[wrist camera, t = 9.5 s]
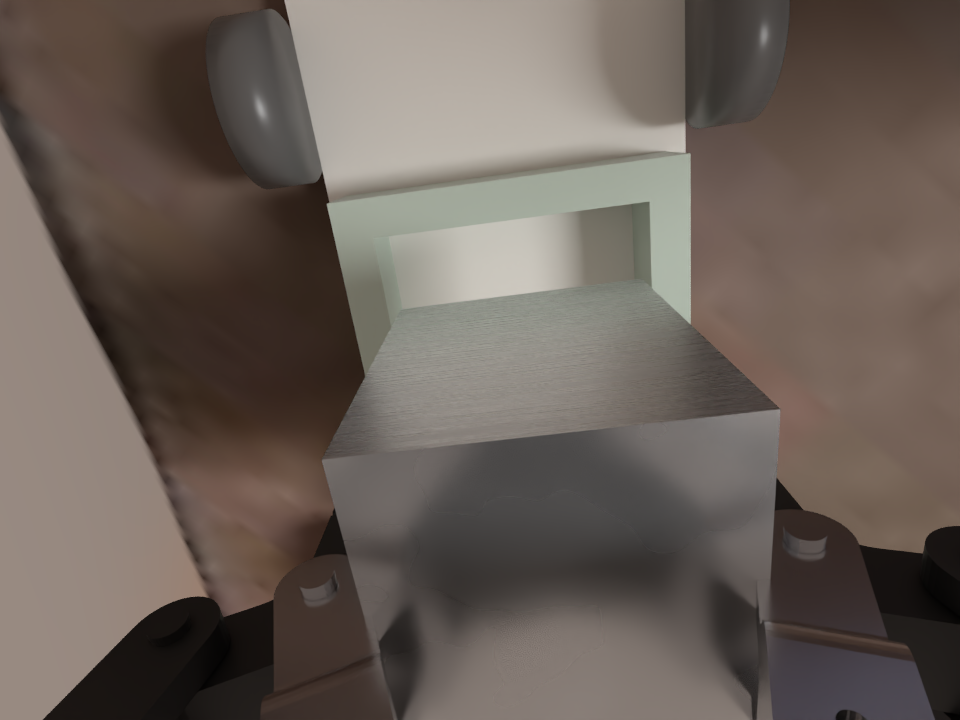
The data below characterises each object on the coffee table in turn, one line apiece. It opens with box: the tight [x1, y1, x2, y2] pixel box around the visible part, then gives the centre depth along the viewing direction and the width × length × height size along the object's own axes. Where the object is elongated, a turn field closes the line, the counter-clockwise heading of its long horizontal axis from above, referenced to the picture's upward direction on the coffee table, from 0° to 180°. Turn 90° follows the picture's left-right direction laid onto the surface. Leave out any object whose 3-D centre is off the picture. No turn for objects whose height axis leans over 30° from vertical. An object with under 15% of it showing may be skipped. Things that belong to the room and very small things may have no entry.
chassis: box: [206, 0, 790, 376], centre depth 17 cm, size 12×22×4 cm, turn 8°
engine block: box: [322, 279, 780, 720], centre depth 10 cm, size 5×7×6 cm
